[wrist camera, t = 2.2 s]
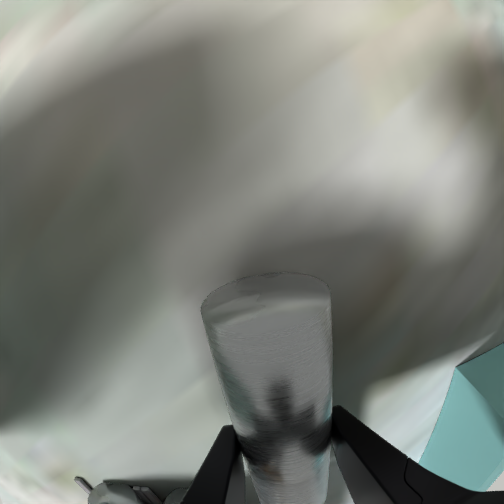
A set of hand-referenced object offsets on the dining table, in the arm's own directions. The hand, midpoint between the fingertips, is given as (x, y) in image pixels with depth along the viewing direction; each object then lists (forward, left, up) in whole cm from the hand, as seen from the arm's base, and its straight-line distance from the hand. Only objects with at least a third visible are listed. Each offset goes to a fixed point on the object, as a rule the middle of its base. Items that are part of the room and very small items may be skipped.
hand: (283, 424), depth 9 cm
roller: (0, 0, -1) cm, 1 cm away
